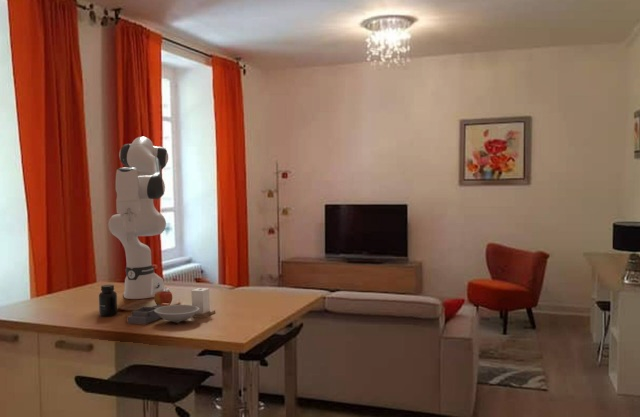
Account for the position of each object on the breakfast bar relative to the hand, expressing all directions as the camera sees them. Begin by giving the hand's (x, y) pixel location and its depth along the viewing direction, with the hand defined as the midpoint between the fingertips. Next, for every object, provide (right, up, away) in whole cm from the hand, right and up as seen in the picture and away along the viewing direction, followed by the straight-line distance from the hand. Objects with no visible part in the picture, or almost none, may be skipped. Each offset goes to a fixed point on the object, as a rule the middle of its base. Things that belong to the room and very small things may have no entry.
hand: (130, 243), depth 215 cm
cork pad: (+28, -28, +1) cm, 40 cm away
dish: (+21, -30, -9) cm, 37 cm away
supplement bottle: (-10, -29, +4) cm, 31 cm away
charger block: (+28, -27, +1) cm, 39 cm away
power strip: (+10, -29, +2) cm, 31 cm away
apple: (+9, -28, +15) cm, 33 cm away
